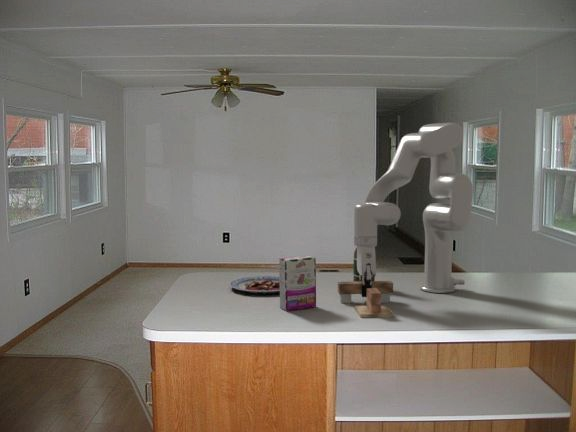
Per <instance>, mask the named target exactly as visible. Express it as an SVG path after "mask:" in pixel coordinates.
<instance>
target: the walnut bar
mask: <svg viewBox="0 0 576 432" xmlns="http://www.w3.org/2000/svg"><path fill="white" fill-rule="evenodd" d="M362 285H363V281H337V293H338V295H339V296H340V295H341V294H351V295H362ZM371 285H372V288H376V289H377V290H378V291H379V292H380V293H381V294H384V293H390V294H394V282H393V281H391V280H375V281H371Z"/></svg>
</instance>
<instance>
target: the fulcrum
mask: <svg viewBox="0 0 576 432" xmlns="http://www.w3.org/2000/svg"><path fill="white" fill-rule="evenodd" d="M354 310H355V312H356V313H357V314H358V316H359V318H394V312H393V311H391V309H390V308H389V307H388V306H387V305H382V302H381V293H380V292H379V291H378V290H377V289H376V288H367V297H366V305H354Z"/></svg>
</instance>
